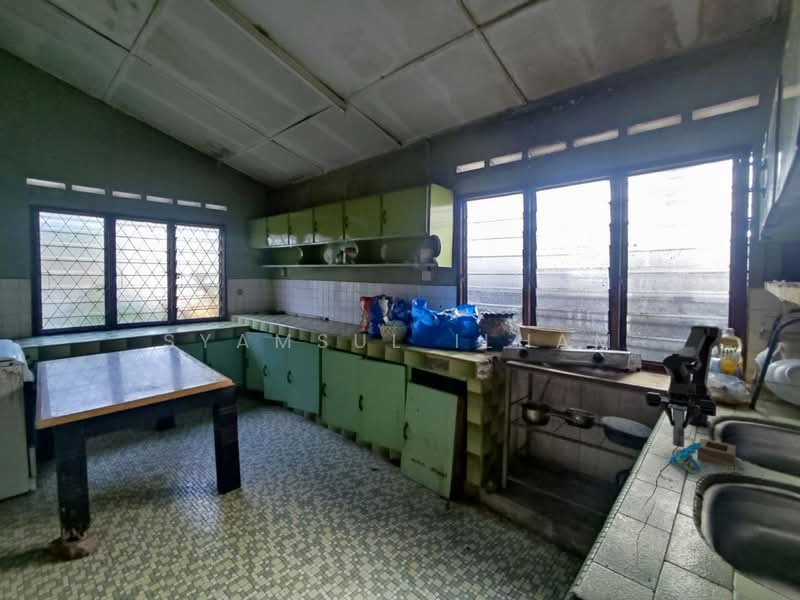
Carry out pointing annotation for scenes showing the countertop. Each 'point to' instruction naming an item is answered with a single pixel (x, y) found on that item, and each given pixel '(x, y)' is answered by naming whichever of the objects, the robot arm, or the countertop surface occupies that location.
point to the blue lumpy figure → (686, 456)
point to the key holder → (717, 452)
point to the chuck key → (678, 424)
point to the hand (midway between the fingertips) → (678, 426)
